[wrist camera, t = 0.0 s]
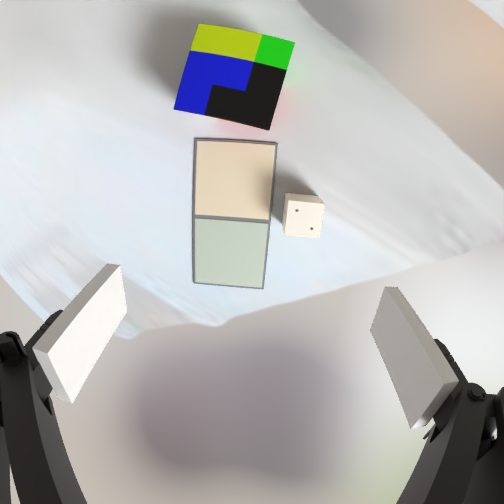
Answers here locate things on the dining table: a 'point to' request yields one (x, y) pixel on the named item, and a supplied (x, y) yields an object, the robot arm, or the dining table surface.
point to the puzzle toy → (234, 75)
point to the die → (302, 215)
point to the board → (232, 211)
